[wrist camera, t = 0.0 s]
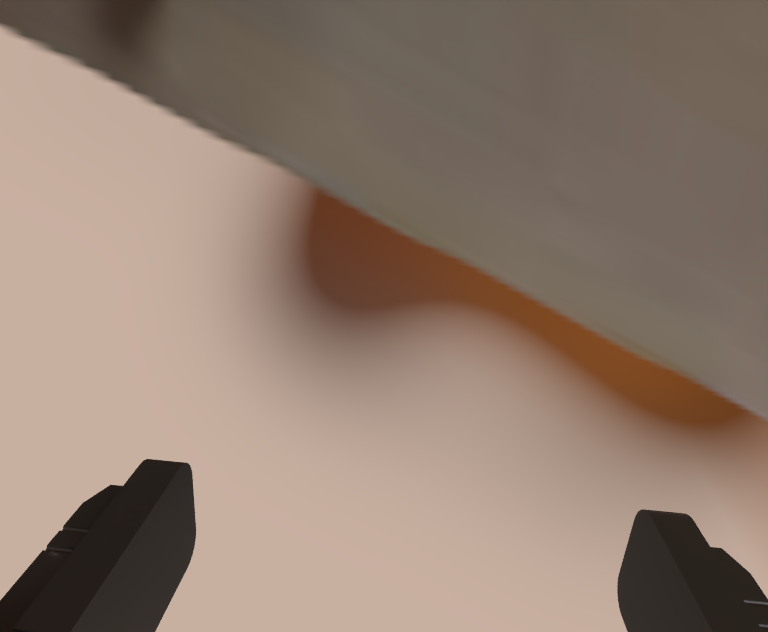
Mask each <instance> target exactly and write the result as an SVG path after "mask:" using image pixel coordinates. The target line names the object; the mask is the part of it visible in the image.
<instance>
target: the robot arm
mask: <svg viewBox="0 0 768 632" xmlns="http://www.w3.org/2000/svg"><path fill="white" fill-rule="evenodd" d="M195 538H196V523H195V509H194V495H193V479H192V470H191V467H190V465H189V464H188V463H182V462H172V461H162V460H152V459H146V460H144V461H143V462H142V463H141V464H140V465H139V466H138V468H137V469H136V470H135V472H134V473H133V474H132V475H131V477H130V478H129V479H128V481H127V482H126V483H125V484H124V486H116V485H110V486H108V487H107V488H105V489H104V490H102V491H101V492H99V493H97V494H96V495H94V496H93V497H91V498H90V499H88V500H87V501H85V502H84V503H83V504H82V505H81V506H80V507H79V508H78V510H77V511H76V512H75V513H74V514H73V515H72V516H71V518H70V519H69V520H68V521H67V522H66V524H65V525H64V526H63V530H62V531H59V532H58V533H57V535H55V537H54V538H53V539H52V540H51V541H50V543H49V544H48V545H47V549H46V550H45V551H44V550H43V551H42V552H41V553H40V554H39V556H38V557H37V558H36V559H35V560H34V561H33V563H32V564H31V565H30V566H29V567H28V569H27V570H26V571H25V572H24V573H23V574H22V576H21V577H20V578H19V579H18V580H17V582H16V583H15V584H14V585H13V586H12V587H11V589H10V590H9V591H8V592H7V593H6V595H5V596H4V597H3V598H2V599H1V600H0V632H155V631H156V629H157V627H158V625H159V623H160V621H161V619H162V617H163V615H164V613H165V611H166V609H167V607H168V605H169V603H170V601H171V599H172V597H173V595H174V593H175V591H176V589H177V587H178V585H179V583H180V581H181V579H182V578H183V575H184V573H185V572H186V570H187V568H188V565H189V563H190V560H191V557H192V554H193V550H194V545H195ZM618 602H619V608H620V612H621V615H622V618H623V620H624V623H625V626H626V628H627V631H628V632H768V599H767V598H766V596H765V595H764V594H763V592H762V590H761V589H760V587H759V586H758V585H757V583H756V581H755V580H754V578H753V577H752V576H751V574H750V573H749V572H748V571H747V570H746V569H745V568H743V567H742V566H741V565H740V564H739V563H738V562H736V561H735V560H734V559H733V558H732V557H731V556H730V555H729V554H727V553H726V552H725V551H724V550H723V549H721V548H713V547H710V546H709V545H708V543H707V541H706V540H705V538H704V537H703V535H702V534H701V532H700V530H699V528H698V527H697V525H696V524H695V522H694V521H693V519H692V518H691V517H690V516H689V515H687V514H682V513H673V512H663V511H652V510H640V511H639V512H638V513H637V515H636V517H635V520H634V523H633V527H632V530H631V533H630V537H629V541H628V544H627V548H626V551H625V555H624V559H623V562H622V566H621V569H620V573H619V577H618Z"/></svg>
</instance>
